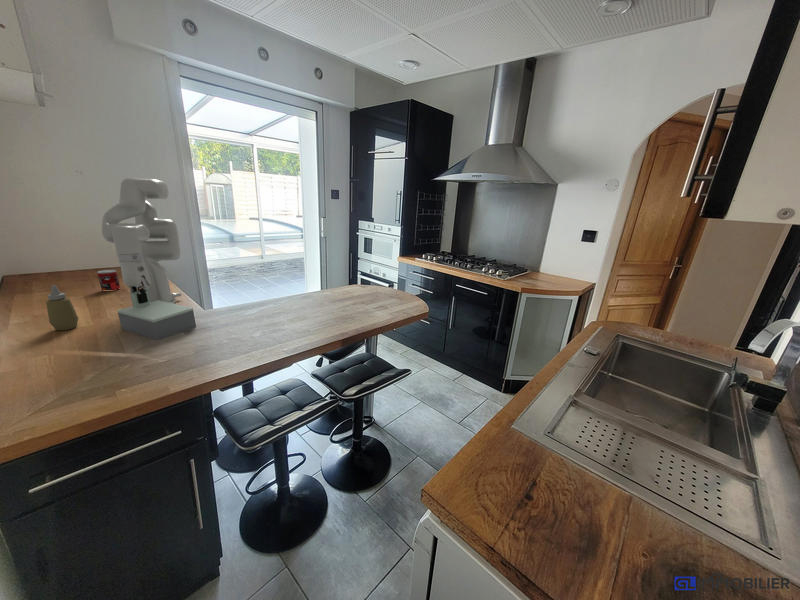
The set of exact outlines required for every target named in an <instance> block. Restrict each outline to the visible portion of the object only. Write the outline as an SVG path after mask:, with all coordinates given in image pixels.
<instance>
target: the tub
mask: <svg viewBox="0 0 800 600" xmlns="http://www.w3.org/2000/svg"><path fill="white" fill-rule="evenodd" d="M117 315H118V319H119V323H120V326H121V330H122V331H126V332H129V333H132V334H135V335H139V336H142V337H146V338H149V339H152V340H156V341H159V340H162V339H165V338H168V337H170V336H173V335H176V334H179V333H181V332H184V331H187V330H190V329H194V328H196V327H197V325H196V319H195V317H196V316H195V313H194V310H193V311H189V312H186V313H183V314H180V315H176V316H173V317H170V318H166V319H163V320H160V321H157V322H150V321H147V320H143V319H139V318H136V317H132V316H128V315H124V314H121V313H118V312H117Z"/></svg>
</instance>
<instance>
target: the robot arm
mask: <svg viewBox="0 0 800 600" xmlns="http://www.w3.org/2000/svg"><path fill="white" fill-rule="evenodd" d="M168 196H169V188H168V185H167V184H166V183H165V181H163V180H159V179H155V178H141V177H128V178H127V177H126V178H124V179H123V180H121V183H120V190H119V203H117V204H115V205H113V206H112V207H111V208H109V209H108V210H106V212H105V213H104V214H103V216H102V223H101V235H102V237H103V238H104V240H106V242H109V243H114V248H115V251H116V255H117V261H118V263H119V264H120V270H121V271H120V272H121V276H122V277H121V278H122V281H123V283H124V284H125V285H126V287H128V289H129V291H130V293H132V292H136V291H137V293H138V294H137V299H138V303H139V304H142V303H146V302H148V299H147V294H146V293H147V291H148V296H149V300H150V302H153V301H157V300H160V301H164V302H169V303H173V304H177V300H176V298H179V297H181V296H182V292H171V287H170V283H169V278H168V273H167V272H168V271H167V269H166V267H165V266H164V265H163V264H162V263H161V262H162V261H177V260H178V259H180V257H181V247H180V239H179V232H178V227H177V225H176V223H175V221H173V220H172V219H170V218H169V219H168V218H158V213H157V209H156V208H155V206H154V205H153V204H152V203H150V202H149V201H148V200H147V199H149V200H166V199H167V198H168ZM132 218H134V221H135V223H121V222H122V221H125V220H128V219H132ZM161 239H162V240H161ZM165 239H166V240H165ZM159 261H160V262H159Z"/></svg>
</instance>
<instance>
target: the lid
mask: <svg viewBox="0 0 800 600" xmlns="http://www.w3.org/2000/svg"><path fill="white" fill-rule="evenodd" d="M137 294H138V293H137V291H136V292H132V293H131V292H129V296H130V299H131V300H130V301H131V303H132V306H130V307H125V308H122V309H117V310H116V311H117V314H118V313H121V314H124V315H128V316H132V317H136V318H139V319H143V320H147V321H150V322H157V321H160V320H163V319H166V318H170V317H173V316H176V315H180V314H183V313H186V312H189V311H193V312H194V307H190V306H186V305H181V304H177V303H174V304H173V303H169V302H164V301H160V300H157V301H153V302H150V300H149V296H148V291H147V293H146V294H147V299H148V302H146V303H142V304H139V303H138V299H137Z"/></svg>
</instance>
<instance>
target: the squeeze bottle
mask: <svg viewBox="0 0 800 600" xmlns="http://www.w3.org/2000/svg"><path fill="white" fill-rule="evenodd" d="M50 287H51V291H50V294H48V295H47V298H48V300H47V301H45V304H46V310H47V315H48V321H49V324H50V325H51V326H52V327H53V328H54V329H55V330H56V331H58V330H59V331H58V332H60V330H61V332H62V331H67V330H71V329H74V328H77V326H78V323H79V322H78V321H79V316H78V314H77V313H76V310H75V308H74V306H73V303H72V301H71V299H70V298H68V297H66V296H67V295H66V293H64V292H60V290H59V288H58V287H57V285H56V284H53V285H50Z"/></svg>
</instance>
